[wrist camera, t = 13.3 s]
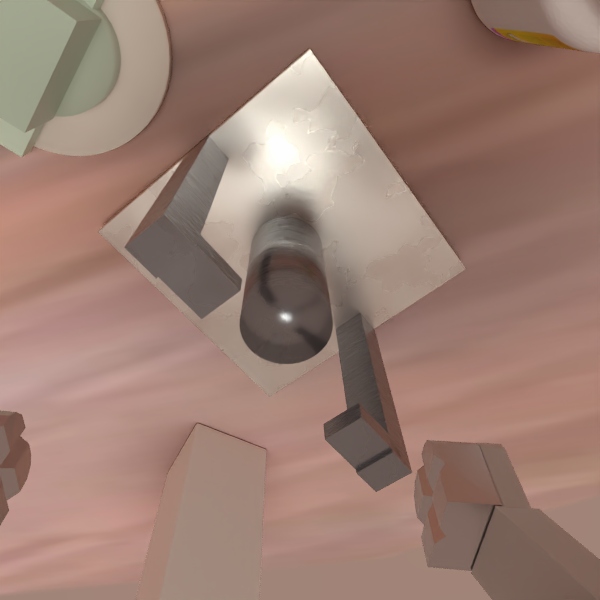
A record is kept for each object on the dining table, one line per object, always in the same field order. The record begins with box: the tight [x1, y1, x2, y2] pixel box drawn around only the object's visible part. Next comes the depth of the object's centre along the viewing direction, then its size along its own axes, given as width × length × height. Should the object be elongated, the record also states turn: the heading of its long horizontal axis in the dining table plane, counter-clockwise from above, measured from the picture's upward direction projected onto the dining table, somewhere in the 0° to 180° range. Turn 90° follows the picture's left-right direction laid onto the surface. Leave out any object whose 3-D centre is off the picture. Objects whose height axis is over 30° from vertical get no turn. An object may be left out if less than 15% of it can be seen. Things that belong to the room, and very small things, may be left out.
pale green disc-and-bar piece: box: [0, 0, 121, 157], centre depth 26 cm, size 6×11×5 cm, turn 144°
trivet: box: [0, 0, 172, 156], centre depth 28 cm, size 11×11×1 cm
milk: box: [135, 423, 266, 600], centre depth 34 cm, size 6×6×22 cm
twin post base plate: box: [98, 48, 466, 492], centre depth 28 cm, size 16×16×14 cm
